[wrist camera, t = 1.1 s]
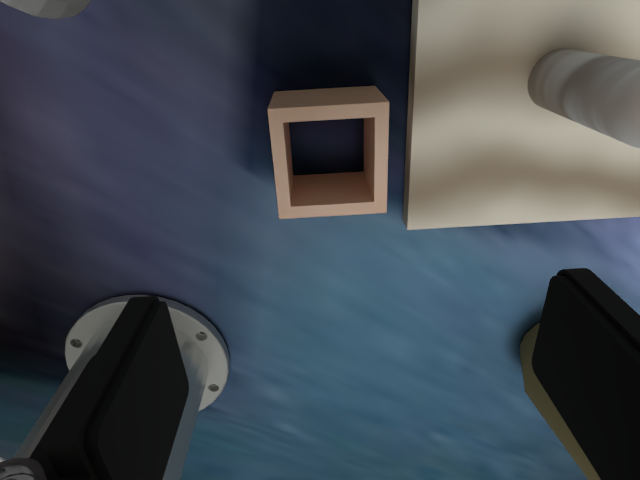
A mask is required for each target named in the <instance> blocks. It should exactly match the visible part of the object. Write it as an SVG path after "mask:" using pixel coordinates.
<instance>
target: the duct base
mask: <svg viewBox="0 0 640 480" xmlns="http://www.w3.org/2000/svg"><path fill="white" fill-rule="evenodd" d="M639 216H640V0H413V1H412V24H411V46H410V69H409V92H408V114H407V137H406V159H405V182H404V204H403V222H404V224H405V226H406V228H407V230H415V229H432V228H450V227H467V226H484V225H501V224H519V223H536V222H553V221H570V220H587V219H605V218H622V217H639Z"/></svg>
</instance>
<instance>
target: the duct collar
mask: <svg viewBox="0 0 640 480" xmlns="http://www.w3.org/2000/svg"><path fill="white" fill-rule="evenodd" d="M353 118H364V171H362V172H345V173H328V174H311V175H294V176H293V166H292V155H291V143H290V131H289V122H302V121H319V120H336V119H353ZM268 119H269V128H270V137H271V147H272V156H273V165H274V175H275V184H276V193H277V203H278V212H279V219H288V218H305V217H322V216H340V215H357V214H374V213H387V177H388V135H389V101H388V100H387V99H386V98H385V96H384V95H383V94H382V93H381V92H380V91H379V89H378V88H377V87H376V86H360V87H343V88H326V89H309V90H292V91H274V94H273V96H272V99H271V101H270V104H269V106H268Z"/></svg>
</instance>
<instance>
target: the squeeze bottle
mask: <svg viewBox="0 0 640 480" xmlns="http://www.w3.org/2000/svg"><path fill="white" fill-rule="evenodd" d="M539 325H540V323H538V324H536V325H535V326H534V327H533V328H532V329H530V330H529V331H528V332H527V333H526V334H525V336H524V338H523V340H522V342H521V344H520V359H521V366H522V373H523V380H524V387H525V392H526V393H527V395H528V396H529V398H530V399H531V401H532V402H533V404H534V405H535V407H536V408H537V409H538V411H539V412H540V413H541V415H542V416H543V418H544V419H545V420H546V422H547V423H548V425H549V426H550V427H551V429H552V430H553V431H554V433H555V434H556V436H557V437H558V438H559V440H560V441H561V443H562V444H563V445H564V447H565V448H566V450H567V451H568V452H569V454H570V455H571V456H572V458H573V459H574V461H575V462H576V463H577V465H578V466H579V468H580V469H581V470H582V472H583V473H584V474H585V476H586V477H587V479H588V480H601V479H600V477H599V476H598V474H597V473H596V471H595V469H594V468H593V466H592V465H591V463H590V461H589V460H588V458H587V457H586V455H585V453H584V452H583V450H582V449H581V447H580V446H579V444H578V442H577V441H576V439H575V438H574V436H573V434H572V433H571V431H570V430H569V428H568V426H567V425H566V423H565V422H564V420H563V418H562V417H561V415H560V414H559V412H558V410H557V409H556V407H555V406H554V404H553V402H552V401H551V399H550V398H549V396H548V394H547V393H546V391H545V390H544V388H543V387H542V385H541V383H540V382H539V380H538V379H537V377H536V375H535V373H534V371H533V368H532V355H533V351H534V346H535V342H536V338H537V334H538V329H539Z"/></svg>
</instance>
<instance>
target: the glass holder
mask: <svg viewBox="0 0 640 480" xmlns="http://www.w3.org/2000/svg"><path fill="white" fill-rule="evenodd" d="M0 1H1V2H3V3H5V4H6V5H8V6H11V7H13V8H16V9H18V10H21V11H23V12H25V13H28V14H30V15H33V16H37V17H44V18H51V19H61V18H67V17H73V16H76V15H78V14H79V13H80V12H81V11H82V10H84V9H85V8H86V7H87V6H88V4H89V3H90V1H91V0H0Z"/></svg>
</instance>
